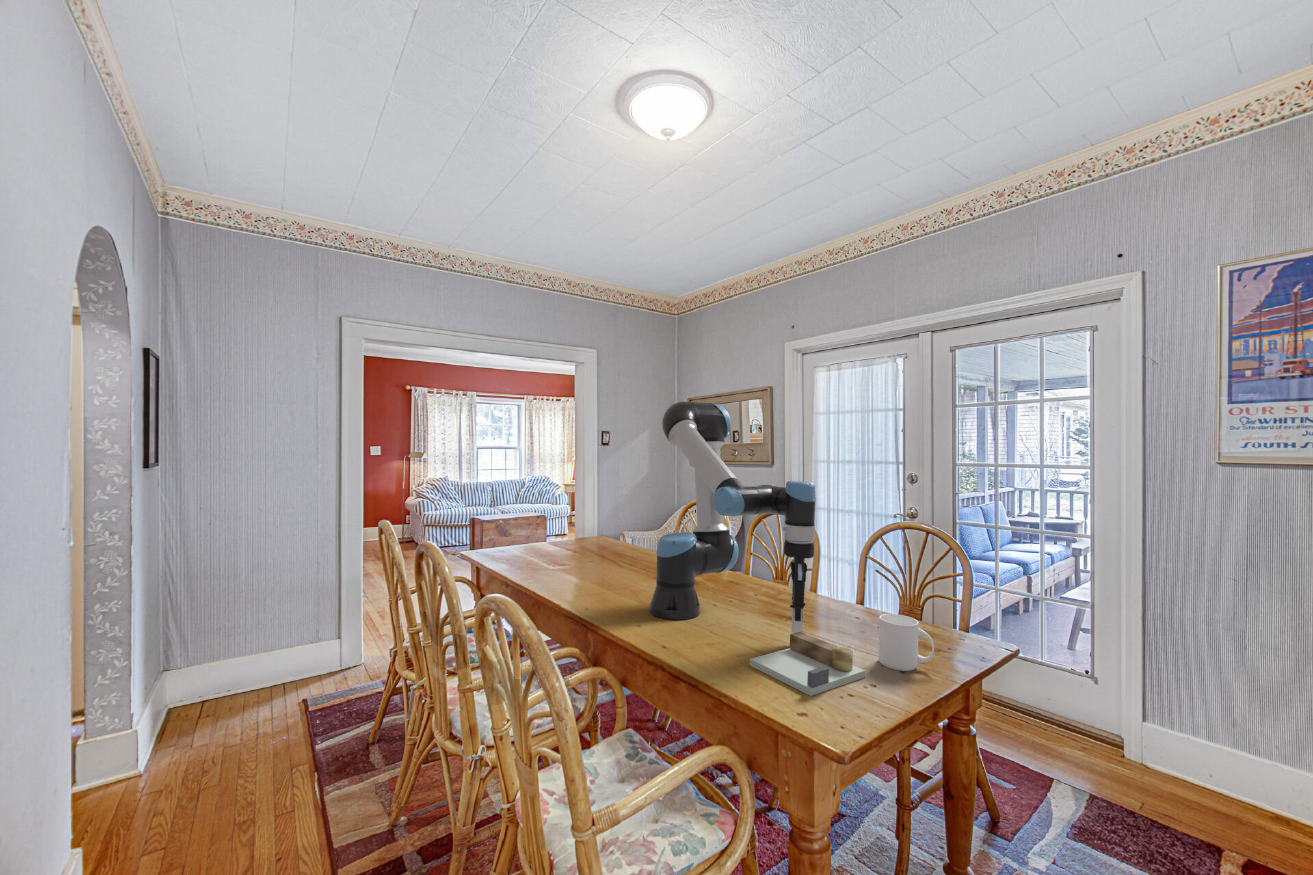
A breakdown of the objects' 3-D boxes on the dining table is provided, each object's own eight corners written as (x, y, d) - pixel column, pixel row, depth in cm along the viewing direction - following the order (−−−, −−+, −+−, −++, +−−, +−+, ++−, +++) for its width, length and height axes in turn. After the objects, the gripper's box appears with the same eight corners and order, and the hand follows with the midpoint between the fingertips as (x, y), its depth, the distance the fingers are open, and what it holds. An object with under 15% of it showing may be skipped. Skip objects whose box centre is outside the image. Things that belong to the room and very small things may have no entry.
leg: (788, 648, 135) (788, 633, 135) (800, 645, 137) (801, 630, 137) (844, 672, 121) (844, 655, 121) (856, 668, 124) (857, 651, 124)
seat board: (749, 665, 128) (749, 658, 128) (802, 650, 138) (802, 644, 138) (810, 695, 113) (811, 688, 113) (865, 677, 123) (865, 670, 123)
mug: (932, 678, 123) (933, 630, 123) (875, 666, 130) (876, 620, 130) (935, 665, 131) (936, 620, 131) (881, 654, 137) (882, 611, 137)
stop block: (807, 685, 115) (807, 671, 115) (823, 680, 117) (823, 666, 117) (812, 688, 114) (813, 673, 114) (828, 682, 116) (828, 668, 116)
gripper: (783, 535, 150) (781, 622, 150) (785, 544, 137) (783, 639, 137) (812, 537, 148) (809, 625, 148) (816, 546, 136) (814, 642, 135)
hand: (797, 632), depth 143 cm, fingers closed
